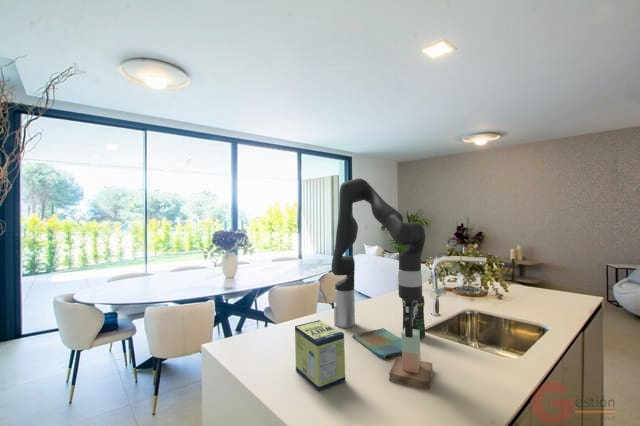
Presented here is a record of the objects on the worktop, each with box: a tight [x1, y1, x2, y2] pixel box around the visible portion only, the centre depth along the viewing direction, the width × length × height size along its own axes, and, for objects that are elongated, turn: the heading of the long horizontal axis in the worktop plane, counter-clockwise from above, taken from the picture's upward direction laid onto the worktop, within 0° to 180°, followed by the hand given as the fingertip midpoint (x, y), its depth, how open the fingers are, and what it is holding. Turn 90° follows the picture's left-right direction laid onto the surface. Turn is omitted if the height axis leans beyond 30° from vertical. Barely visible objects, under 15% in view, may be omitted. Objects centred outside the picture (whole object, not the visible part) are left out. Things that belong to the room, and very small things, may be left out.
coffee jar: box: [401, 295, 426, 339], centre depth 130 cm, size 10×8×19 cm
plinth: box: [388, 356, 434, 390], centre depth 98 cm, size 12×12×2 cm
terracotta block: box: [401, 349, 421, 373], centre depth 98 cm, size 5×5×6 cm
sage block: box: [401, 328, 421, 354], centre depth 98 cm, size 5×5×6 cm
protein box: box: [294, 319, 346, 392], centre depth 99 cm, size 10×16×16 cm
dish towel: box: [351, 327, 402, 361], centre depth 122 cm, size 17×23×2 cm
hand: (410, 331), depth 98 cm, fingers open, 8 cm apart
